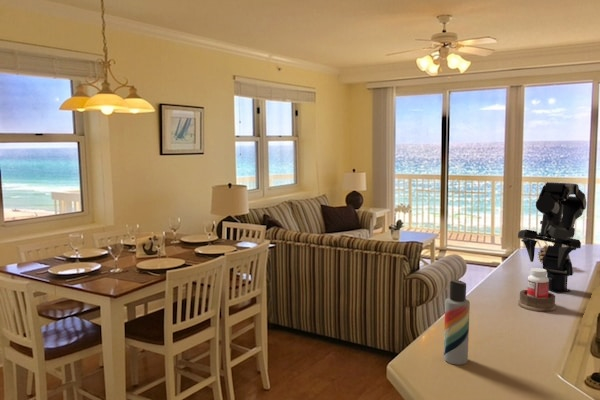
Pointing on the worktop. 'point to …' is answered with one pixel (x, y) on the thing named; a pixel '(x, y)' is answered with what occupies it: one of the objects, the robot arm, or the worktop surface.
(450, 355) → the lotion bottle
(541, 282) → the pill bottle
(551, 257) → the robot arm
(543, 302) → the collar stand
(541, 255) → the pine cone
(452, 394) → the worktop surface
